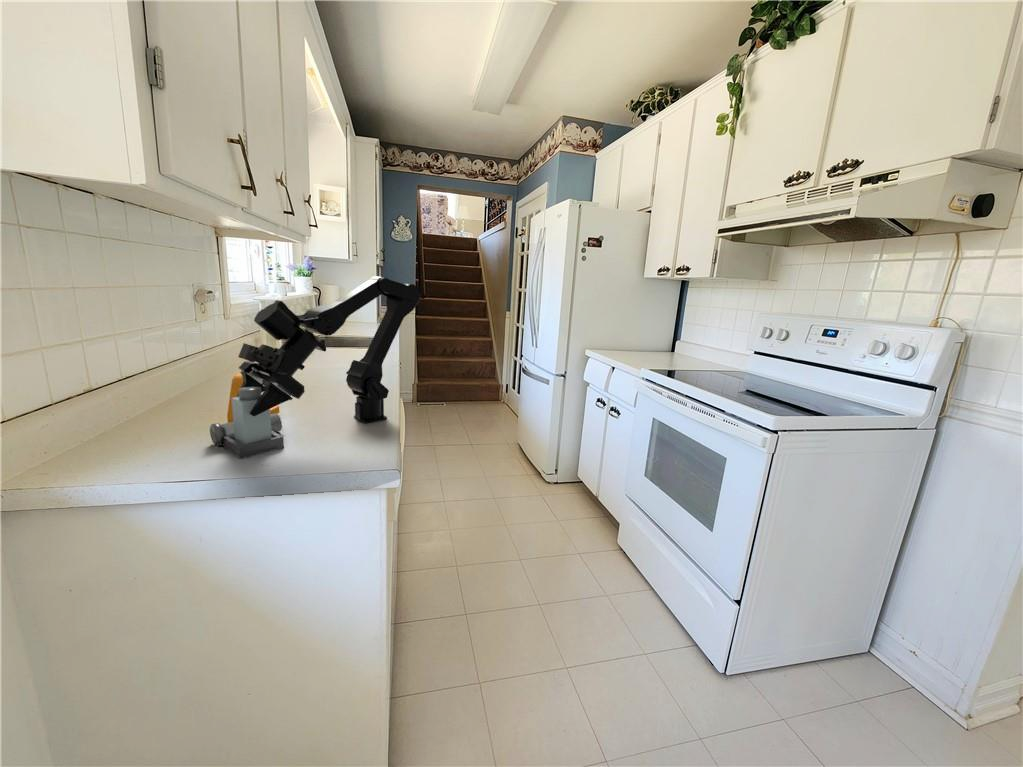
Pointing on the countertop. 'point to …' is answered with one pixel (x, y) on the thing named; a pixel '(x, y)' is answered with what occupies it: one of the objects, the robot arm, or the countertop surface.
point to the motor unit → (225, 437)
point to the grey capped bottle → (249, 417)
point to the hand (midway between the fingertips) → (243, 410)
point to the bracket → (235, 387)
